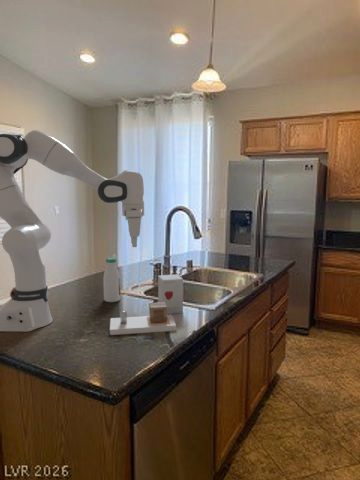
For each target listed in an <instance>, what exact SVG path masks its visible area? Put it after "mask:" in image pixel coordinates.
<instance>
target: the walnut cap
mask: <svg viewBox="0 0 360 480" xmlns="http://www.w3.org/2000/svg"><path fill="white" fill-rule="evenodd" d="M148 308H149V309H148V311H149V316H150V322H151V323H164V322H167V315H168V314H167V306H166V304H165V302H149V304H148Z"/></svg>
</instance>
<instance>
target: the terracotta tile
mask: <svg viewBox="0 0 360 480" xmlns="http://www.w3.org/2000/svg"><path fill="white" fill-rule="evenodd" d="M147 321H148V325H160V324H170V322H169V319H168V317H167V322H164V323H151V322H150V317H147Z"/></svg>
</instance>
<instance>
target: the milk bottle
mask: <svg viewBox="0 0 360 480" xmlns="http://www.w3.org/2000/svg"><path fill="white" fill-rule="evenodd" d="M105 263H106V267H105V270H104V273H103V278H102V279H103V280H102V282H103V301H105V302H107V303H116V302H118V301H120V300H121V296H122V295H121V275H120V272H119V269H118V268H117V267H118V266H117V264H116V263H117V258H116V257H108V258H105Z"/></svg>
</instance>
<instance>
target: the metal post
mask: <svg viewBox="0 0 360 480" xmlns="http://www.w3.org/2000/svg"><path fill="white" fill-rule="evenodd" d="M119 314H120V315H119V318H120V322H121V324H126V323H127V317H128V315H127V314H128V311H127V310H125V309H124V310H123V309H122V310H119Z"/></svg>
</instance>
